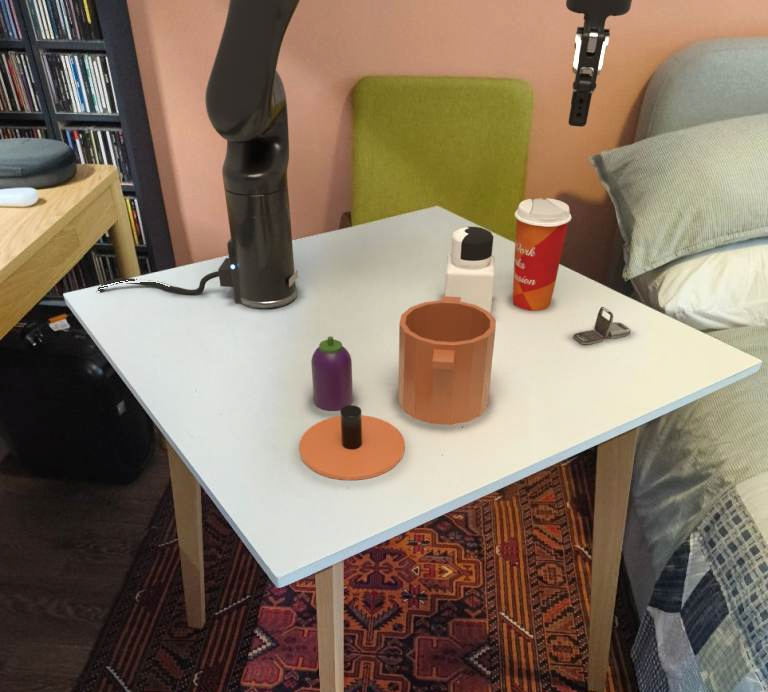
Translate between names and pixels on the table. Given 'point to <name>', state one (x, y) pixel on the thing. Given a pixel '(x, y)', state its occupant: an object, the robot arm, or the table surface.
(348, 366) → the aubergine
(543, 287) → the coffee cup
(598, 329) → the strap clip
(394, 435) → the lid
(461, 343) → the pot
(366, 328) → the table surface
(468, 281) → the medicine bottle
